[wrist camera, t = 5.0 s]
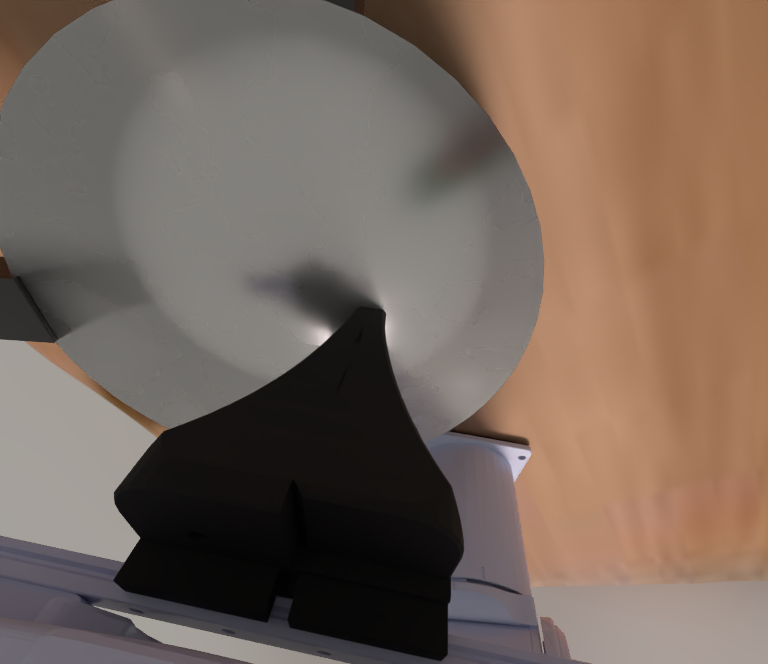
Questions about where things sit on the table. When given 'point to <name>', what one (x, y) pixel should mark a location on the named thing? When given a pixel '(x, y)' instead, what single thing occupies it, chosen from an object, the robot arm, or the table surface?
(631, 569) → the table surface
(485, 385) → the lid
